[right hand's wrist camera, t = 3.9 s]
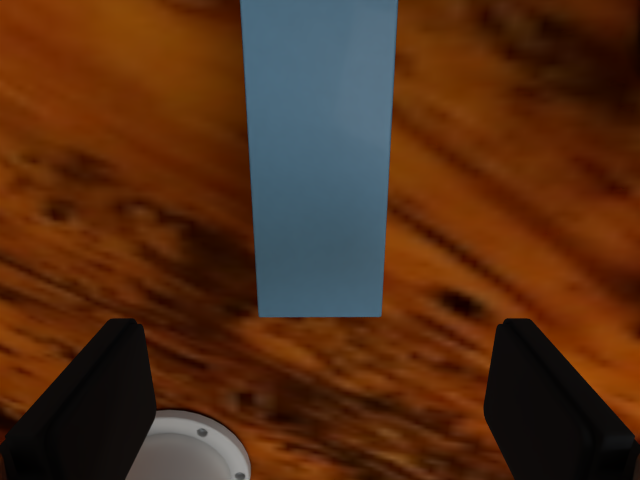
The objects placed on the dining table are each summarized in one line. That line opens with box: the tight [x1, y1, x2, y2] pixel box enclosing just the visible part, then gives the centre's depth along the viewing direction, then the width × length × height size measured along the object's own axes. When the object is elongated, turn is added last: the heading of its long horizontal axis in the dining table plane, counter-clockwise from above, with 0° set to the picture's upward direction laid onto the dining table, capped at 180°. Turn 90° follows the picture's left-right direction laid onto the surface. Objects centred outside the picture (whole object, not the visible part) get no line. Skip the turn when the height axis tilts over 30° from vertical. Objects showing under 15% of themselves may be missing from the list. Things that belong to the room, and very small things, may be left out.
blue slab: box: [240, 0, 398, 317], centre depth 21 cm, size 21×6×11 cm, turn 0°
